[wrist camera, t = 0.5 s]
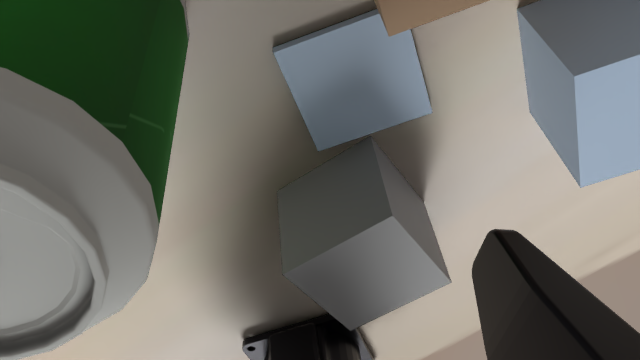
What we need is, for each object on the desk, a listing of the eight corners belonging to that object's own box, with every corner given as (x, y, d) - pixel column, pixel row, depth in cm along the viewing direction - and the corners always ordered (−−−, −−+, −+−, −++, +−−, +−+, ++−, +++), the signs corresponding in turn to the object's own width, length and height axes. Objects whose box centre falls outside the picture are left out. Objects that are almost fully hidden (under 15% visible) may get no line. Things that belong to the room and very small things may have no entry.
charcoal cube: (423, 200, 28) (451, 282, 24) (336, 247, 29) (350, 330, 25) (370, 134, 25) (392, 215, 21) (277, 190, 26) (282, 274, 22)
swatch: (430, 107, 24) (432, 112, 24) (317, 145, 25) (318, 151, 24) (401, -1, 21) (403, 4, 20) (272, 47, 21) (273, 52, 21)
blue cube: (647, 71, 24) (723, 143, 20) (529, 111, 25) (580, 187, 21) (652, -42, 21) (744, 19, 17) (516, 8, 22) (574, 76, 18)
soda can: (34, -176, 16) (-230, -1, 7) (236, 3, 20) (229, 260, 11) (-86, 6, 19) (-380, 293, 10) (111, 131, 23) (25, 417, 14)
